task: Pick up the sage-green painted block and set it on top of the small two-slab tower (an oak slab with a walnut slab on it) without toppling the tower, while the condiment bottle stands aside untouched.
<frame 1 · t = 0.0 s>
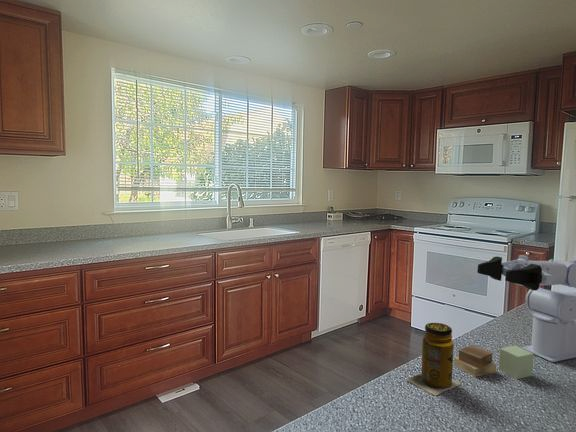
hand: (492, 272, 87), 22 cm above the counter, tool horizontal, fingers open, 7 cm apart
oak slab: (474, 370, 88), on the counter, touching walnut slab
walnut slab: (475, 360, 88), point 2 cm above the counter, touching oak slab
sage block: (515, 372, 86), on the counter
condiment: (433, 383, 82), on the counter
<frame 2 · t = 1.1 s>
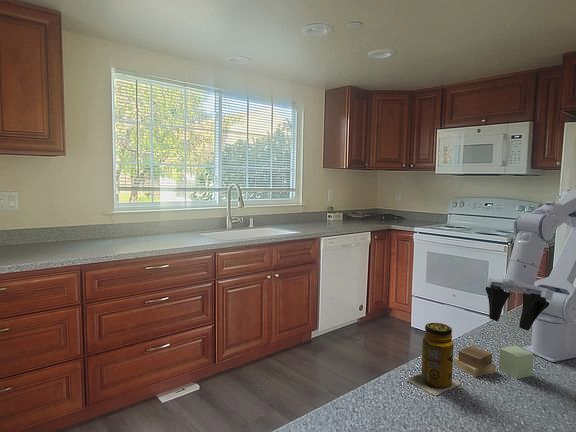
hand: (508, 324, 85), 11 cm above the counter, tool tilted 20°, fingers open, 7 cm apart
nothing on the counter moved.
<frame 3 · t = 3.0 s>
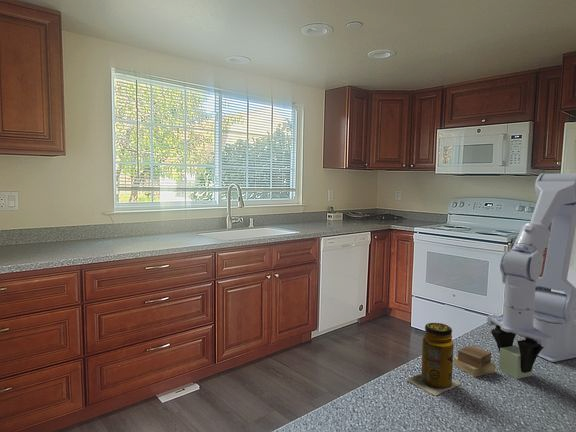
hand: (515, 366, 86), 1 cm above the counter, tool pointing down, fingers closed on sage block, 4 cm apart
sage block: (515, 372, 86), on the counter, touching gripper
everything else where it was.
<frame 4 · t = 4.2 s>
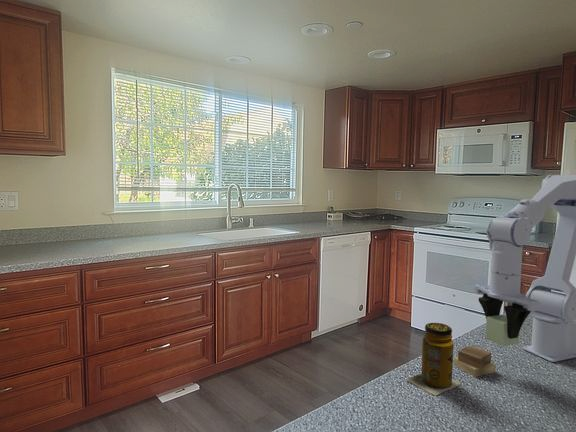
hand: (502, 333, 86), 9 cm above the counter, tool pointing down, fingers closed on sage block, 4 cm apart
sage block: (501, 341, 86), point 7 cm above the counter, touching gripper
everything else where it was.
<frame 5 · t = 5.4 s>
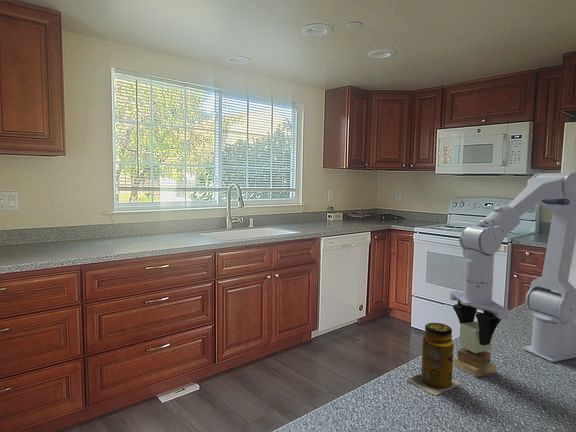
hand: (475, 339, 87), 7 cm above the counter, tool pointing down, fingers closed on sage block, 4 cm apart
oak slab: (474, 370, 88), on the counter
walnut slab: (473, 360, 88), point 2 cm above the counter
sage block: (475, 347, 87), point 5 cm above the counter, touching gripper
everything else where it was.
when the fingers open (7 cm above the counter, at t = 5.5 s): sage block drops 1 cm, point 4 cm above the counter.
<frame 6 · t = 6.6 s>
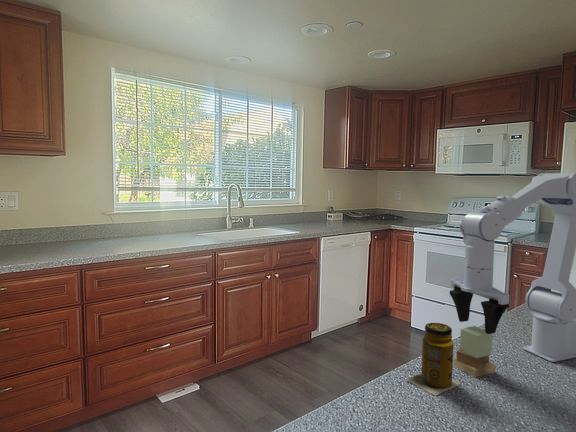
hand: (476, 326, 87), 10 cm above the counter, tool pointing down, fingers open, 7 cm apart
oak slab: (473, 370, 88), on the counter, touching walnut slab
walnut slab: (472, 361, 88), point 2 cm above the counter, touching oak slab
sage block: (475, 352, 87), point 4 cm above the counter
everything else where it was.
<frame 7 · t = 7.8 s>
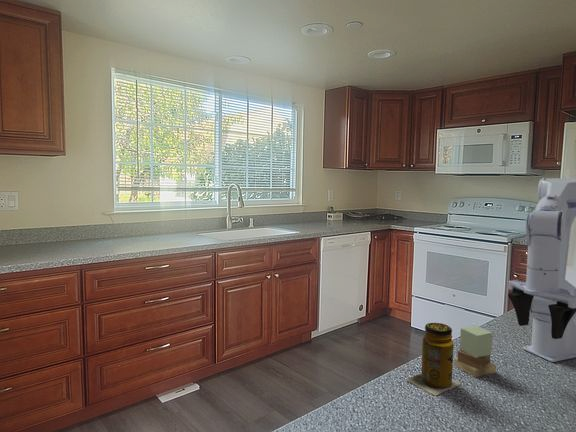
hand: (539, 331, 82), 10 cm above the counter, tool pointing down, fingers open, 7 cm apart
nothing on the counter moved.
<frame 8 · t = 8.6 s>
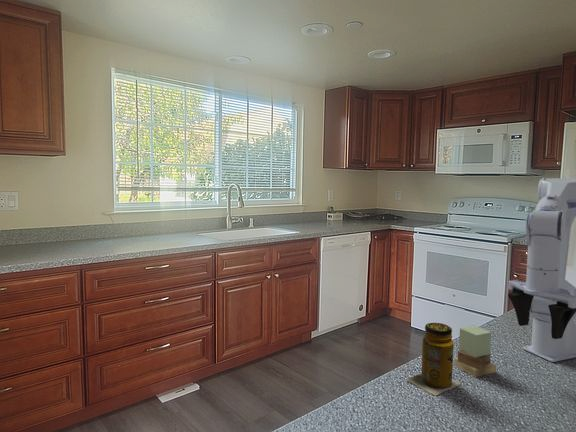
hand: (539, 331, 82), 10 cm above the counter, tool pointing down, fingers open, 7 cm apart
walnut slab: (473, 361, 88), point 2 cm above the counter, touching oak slab, sage block
sage block: (474, 351, 88), point 4 cm above the counter, touching walnut slab
everything else where it was.
at the end: sage block 0.4 cm off-centre on the walnut slab, point 2.2 cm above the walnut slab's base; walnut slab tilted 1°; sage block tilted 1° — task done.
